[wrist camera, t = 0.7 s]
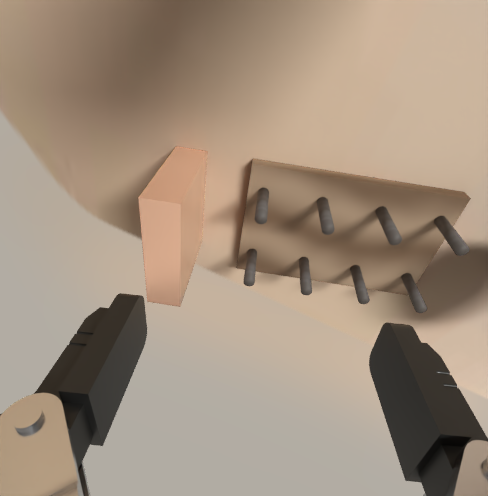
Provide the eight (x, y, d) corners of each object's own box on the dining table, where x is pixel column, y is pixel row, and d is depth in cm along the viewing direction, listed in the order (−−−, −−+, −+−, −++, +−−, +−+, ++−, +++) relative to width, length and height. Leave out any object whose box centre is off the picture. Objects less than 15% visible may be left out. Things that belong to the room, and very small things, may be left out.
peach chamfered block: (176, 146, 28) (138, 197, 21) (207, 151, 28) (180, 204, 21) (176, 236, 34) (147, 301, 27) (202, 240, 34) (180, 306, 27)
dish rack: (253, 158, 28) (247, 187, 24) (464, 192, 28) (499, 227, 24) (237, 261, 36) (231, 298, 31) (405, 287, 36) (423, 328, 31)
